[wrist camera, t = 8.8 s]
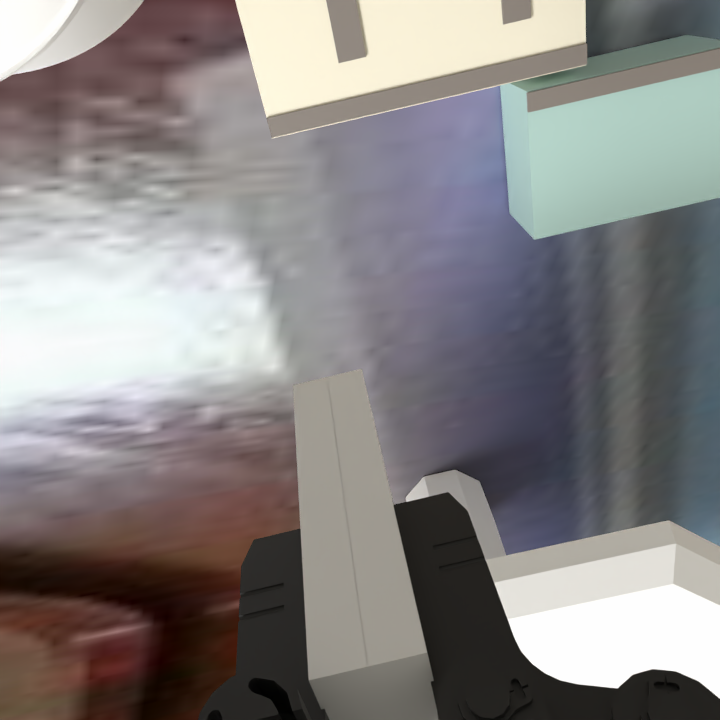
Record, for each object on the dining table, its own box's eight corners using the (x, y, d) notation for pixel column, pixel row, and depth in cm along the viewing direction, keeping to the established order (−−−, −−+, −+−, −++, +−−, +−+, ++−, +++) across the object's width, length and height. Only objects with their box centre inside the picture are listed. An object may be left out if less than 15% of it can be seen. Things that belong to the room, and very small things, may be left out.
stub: (509, 213, 30) (535, 240, 27) (499, 78, 26) (527, 91, 23) (676, 175, 29) (721, 198, 26) (686, 34, 26) (739, 42, 23)
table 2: (201, 633, 44) (159, 950, 29) (238, 261, 30) (193, 522, 15) (569, 645, 49) (685, 921, 34) (749, 332, 35) (1067, 578, 21)
